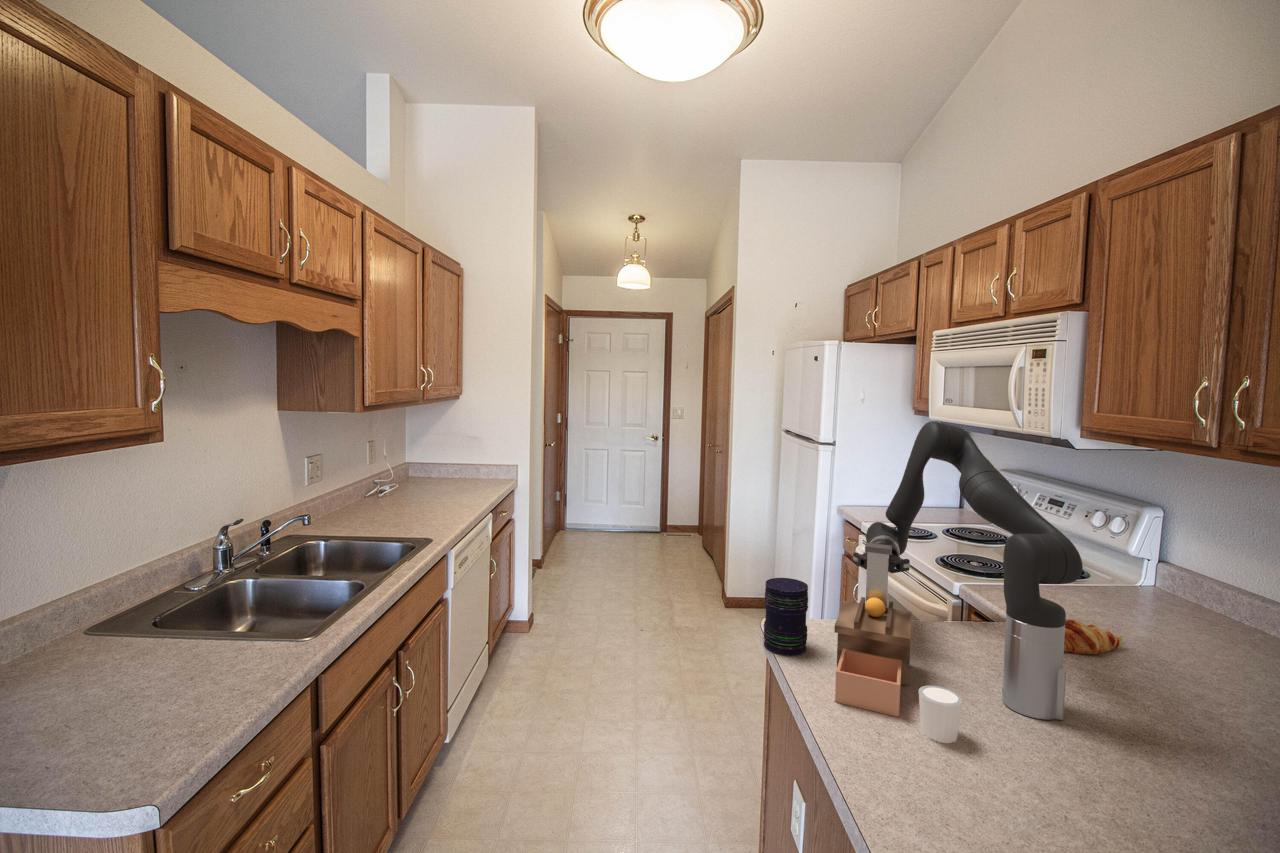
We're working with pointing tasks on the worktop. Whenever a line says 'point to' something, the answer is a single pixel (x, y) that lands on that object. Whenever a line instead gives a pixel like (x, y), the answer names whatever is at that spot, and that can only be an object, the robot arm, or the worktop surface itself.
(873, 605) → the ball
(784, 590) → the dark blue ribbed barrel
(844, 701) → the orange open drawer
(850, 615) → the shelf
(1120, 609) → the worktop surface
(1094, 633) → the croissant
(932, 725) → the white cylinder
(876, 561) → the grey metal tall block
